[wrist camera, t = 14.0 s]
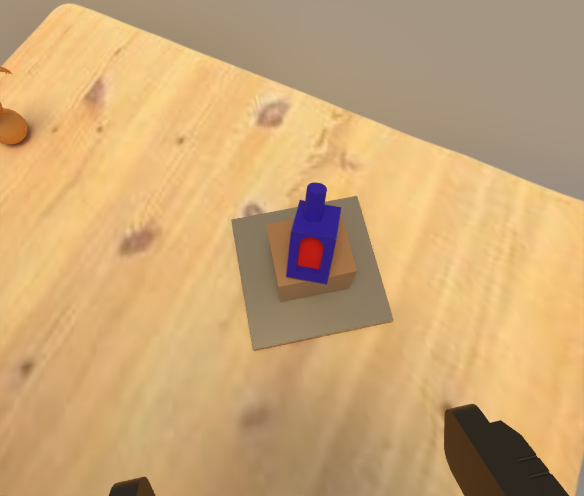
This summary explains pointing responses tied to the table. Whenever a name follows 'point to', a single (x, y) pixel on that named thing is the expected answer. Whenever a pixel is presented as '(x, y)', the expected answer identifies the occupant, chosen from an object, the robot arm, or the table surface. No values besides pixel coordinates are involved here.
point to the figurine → (11, 123)
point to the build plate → (309, 309)
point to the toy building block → (313, 237)
